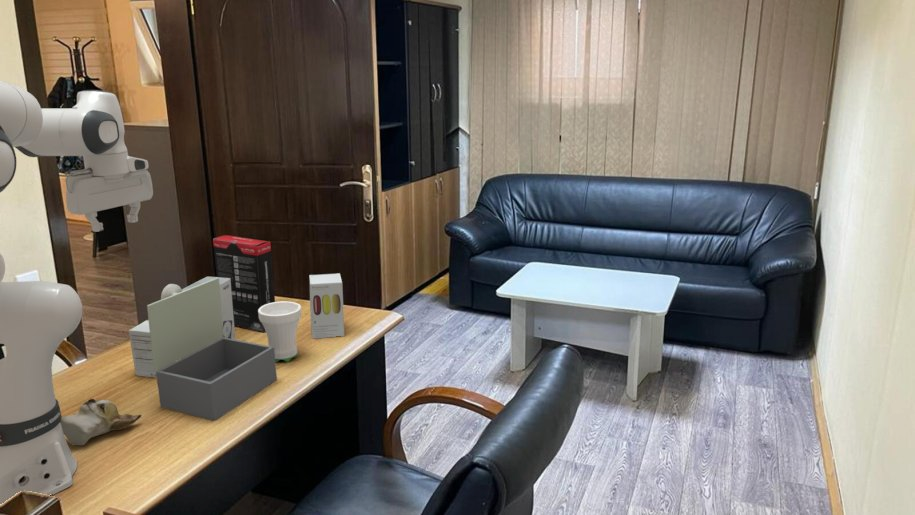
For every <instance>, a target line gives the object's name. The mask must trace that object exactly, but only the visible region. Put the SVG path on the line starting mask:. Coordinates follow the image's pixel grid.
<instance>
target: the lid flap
mask: <svg viewBox="0 0 915 515" xmlns="http://www.w3.org/2000/svg"><path fill="white" fill-rule="evenodd" d="M146 308H147V317H148V318H147V320H149V330H150V339H151V349H152V358H153V368H154V371H158V370H160V369H162V368H163V367H165V366H167V365H169V364H171V363H173V362H175V361H178V360H180V359H181V358H183V357H185V356H187V355H189V354H191V353H193V352H195V351H197V350H199V349H201V348H203V347H205V346H207V345H209V344H211V343H212V342H214V341H216V340H218V339H220V338H222V337H223V327H222V312H221V298H220V284H219V278H215V279H212V280H210V281H207V282H205V283H202V284H200V285H197V286H195V287H192V288H190V289H187V290H185V291H182V288H181V286H180V285H178V284H175V283H169V284H167V285H166V286H165V287H163V289H162V291H161V294H160V300H157V301H155V302H151V303H149V304H147V305H146Z"/></svg>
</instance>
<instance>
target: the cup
mask: <svg viewBox="0 0 915 515" xmlns="http://www.w3.org/2000/svg"><path fill="white" fill-rule="evenodd" d="M258 315H259V320H260V321H261V323H262V324H263V326H264V328H265V333H266V336H267V342H268V346H271V347H274V352H275V363H278V362H279V361H281V360H283V361H284V362H287V363H288V362H290V361H291V359H294V358H295V359H296V358H297V357H298V354H299V353H298V345H297V329H298V324H299V321H300V319H301V317H302V305H301V304H299V303H298V302H294V301H285V300H283V301H282V300H281V301H280V300H279V301H275V302H273V303H268V304H265V305H263V306H261V307H260V308H259V309H258Z"/></svg>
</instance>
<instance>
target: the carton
mask: <svg viewBox="0 0 915 515" xmlns="http://www.w3.org/2000/svg"><path fill="white" fill-rule="evenodd" d="M276 368H277V366H276V362H275V352H274V347H271V346H269V345H265V344H260V343H255V342H252V341H251V342H250V341H245V340H240V339H236V338H235V339H230V338H225V337H223V338H221V339H219V340H217V341H215V342H213V343H211V344H209V345H207V346H205V347H203V348H201V349H199V350H197V351H195V352H193V353H191V354H189V355H187V356H185V357H183V358H182V359H179V360H177V361H176V362H174V363H172V364H170V365H168V366H166V367H164V368H162V369H160V370H158V371H156V377H157V378H156V383H157V391H158V397H159V404H160V405H159V406H160V408H163V409H166V410H170V411H174V412H179V413H182V414H185V415H186V414H187V415H191V416H195V417H198V418H200V419H201V418H203V419H206V420H210V421H214V422H215V421H217V420H218V419H219V418H222V417H223V416H225V415H226V414H227V413H229V412H230V411H232V410H234V409H235V408H236V407H238V406H240V405H241V404H243V403H244V402H246V401H247V400H249V399H250V398H252V397H253V396H255V395H256V394H258V393H259V392H261V391H263V390H264V389H265V388H268V387H269V386H270V385H272V384H273V383H274V382H276V381H277V380H278V379H277V378H278V377H277V369H276Z"/></svg>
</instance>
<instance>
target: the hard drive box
mask: <svg viewBox="0 0 915 515" xmlns="http://www.w3.org/2000/svg"><path fill="white" fill-rule="evenodd" d="M215 278H219V284H220V298H221V312H222V327H223V337H225V338H230V339H235V340H236V332H235V331H236V330H235V326H234V317H233V304H232V292H231V280H230V279H231V278H221V277H217V276H205V277H204V278H201V279H199V280H198V281H195V282H194V283H192V284H190V285H188V286H186V287H184V288H181V290H182V291H185V290H187V289H190V288H192V287H195V286H197V285H200V284H202V283H205V282H207V281H210V280H212V279H215ZM223 337H222V338H223ZM220 339H221V338H220ZM218 340H219V339H218ZM216 341H217V340H216ZM214 342H215V341H214ZM212 343H213V342H212ZM181 359H182V358H181Z"/></svg>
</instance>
